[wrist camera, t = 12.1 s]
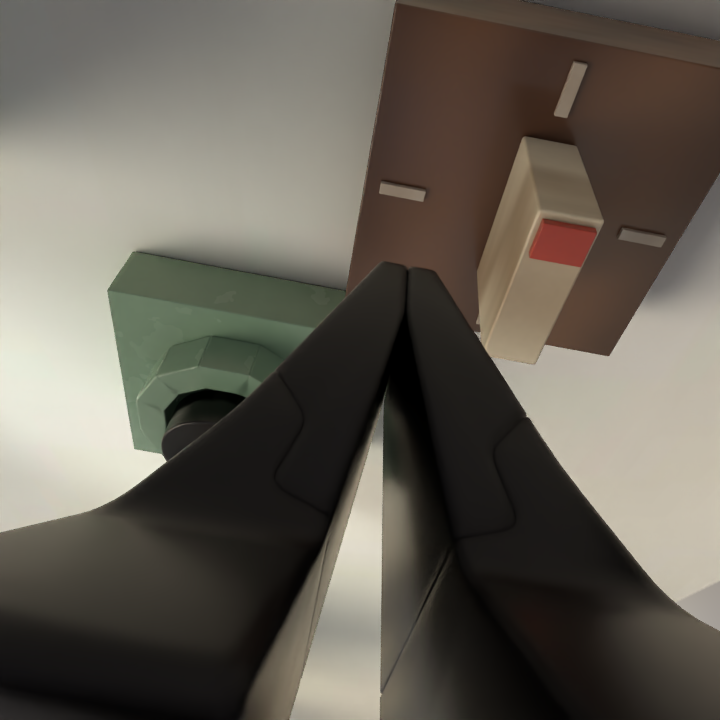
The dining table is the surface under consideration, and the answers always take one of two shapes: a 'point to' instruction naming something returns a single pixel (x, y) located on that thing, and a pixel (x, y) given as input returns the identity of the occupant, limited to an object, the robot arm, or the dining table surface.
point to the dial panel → (542, 121)
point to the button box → (202, 333)
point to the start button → (196, 418)
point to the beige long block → (535, 248)
